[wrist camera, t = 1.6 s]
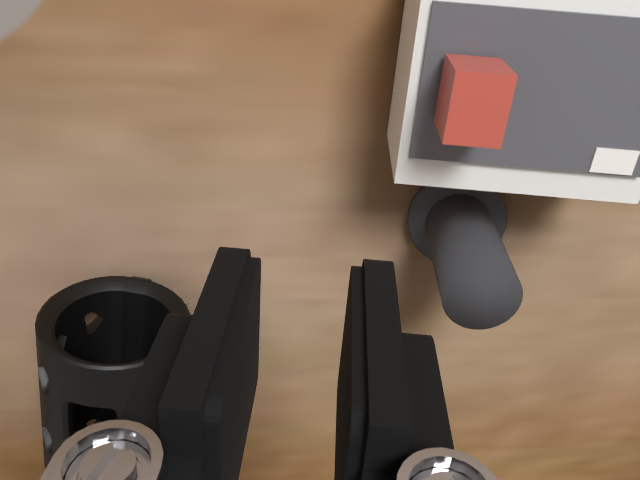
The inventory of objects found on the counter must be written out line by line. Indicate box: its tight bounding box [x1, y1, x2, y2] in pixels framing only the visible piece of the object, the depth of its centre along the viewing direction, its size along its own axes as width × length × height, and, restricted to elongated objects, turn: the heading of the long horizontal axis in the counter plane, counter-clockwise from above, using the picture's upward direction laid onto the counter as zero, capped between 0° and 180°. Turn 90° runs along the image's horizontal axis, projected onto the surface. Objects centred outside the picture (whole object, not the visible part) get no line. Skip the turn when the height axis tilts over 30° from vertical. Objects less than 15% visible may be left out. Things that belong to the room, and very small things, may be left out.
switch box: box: [387, 0, 640, 204], centre depth 30 cm, size 12×10×7 cm
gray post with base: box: [408, 186, 523, 329], centre depth 34 cm, size 6×6×9 cm
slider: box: [434, 53, 518, 149], centre depth 25 cm, size 2×3×3 cm
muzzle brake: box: [35, 276, 190, 469], centre depth 44 cm, size 10×28×10 cm, turn 169°
